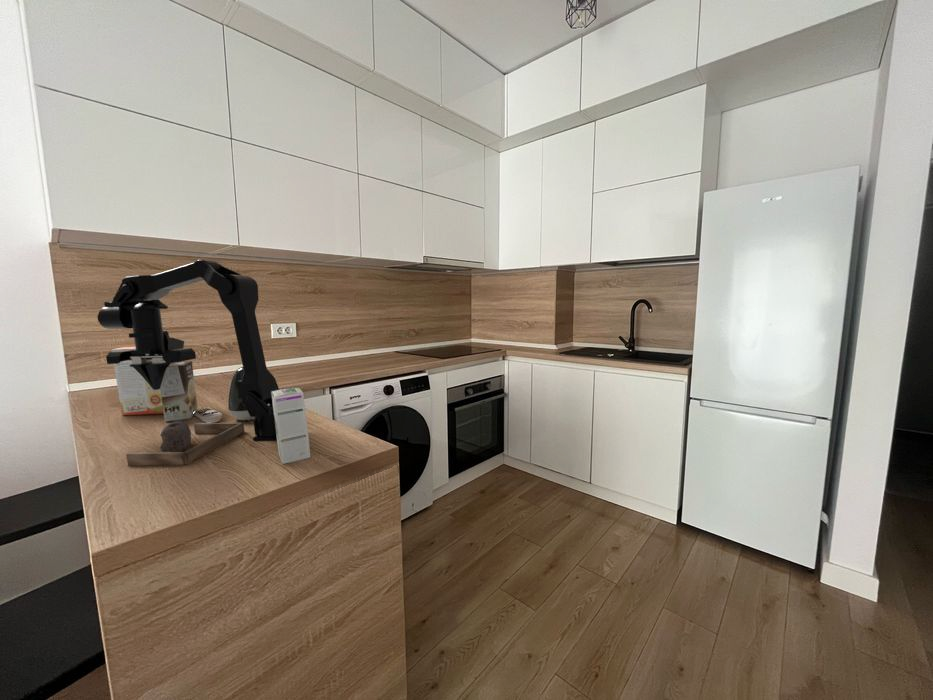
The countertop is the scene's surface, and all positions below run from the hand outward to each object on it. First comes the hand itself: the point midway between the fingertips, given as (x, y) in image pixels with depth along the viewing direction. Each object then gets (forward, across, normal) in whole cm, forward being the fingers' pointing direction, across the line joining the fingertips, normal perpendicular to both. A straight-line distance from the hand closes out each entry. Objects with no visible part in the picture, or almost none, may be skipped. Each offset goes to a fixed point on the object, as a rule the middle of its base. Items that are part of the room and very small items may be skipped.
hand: (156, 389), depth 96 cm
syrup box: (+12, -42, +15) cm, 46 cm away
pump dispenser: (+12, -15, -13) cm, 23 cm away
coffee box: (+12, +8, -16) cm, 22 cm away
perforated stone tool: (+12, -13, +10) cm, 21 cm away
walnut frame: (+12, -14, +8) cm, 20 cm away
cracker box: (+12, +22, -21) cm, 33 cm away
